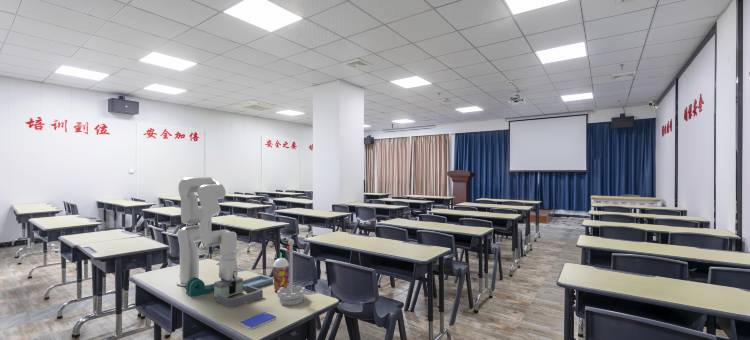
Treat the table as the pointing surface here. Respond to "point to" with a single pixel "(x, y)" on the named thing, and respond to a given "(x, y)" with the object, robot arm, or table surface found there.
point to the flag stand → (291, 284)
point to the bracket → (198, 287)
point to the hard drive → (257, 320)
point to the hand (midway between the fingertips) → (228, 291)
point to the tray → (257, 281)
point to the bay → (241, 297)
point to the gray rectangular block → (227, 287)
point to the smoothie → (280, 273)
